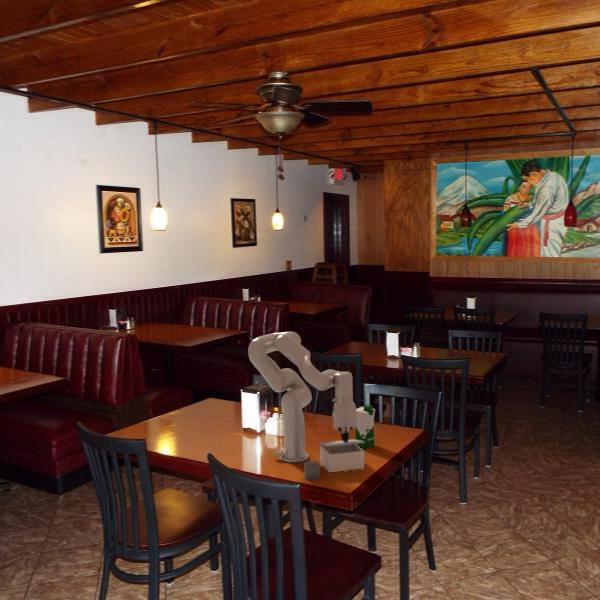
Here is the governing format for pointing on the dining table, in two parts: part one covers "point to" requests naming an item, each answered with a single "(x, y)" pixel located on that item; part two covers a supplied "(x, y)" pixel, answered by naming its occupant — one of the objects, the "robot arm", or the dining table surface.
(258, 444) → the dining table surface
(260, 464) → the dining table surface
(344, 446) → the box
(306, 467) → the gray cube
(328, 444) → the lid
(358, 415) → the milk carton
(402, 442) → the dining table surface
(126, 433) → the dining table surface
